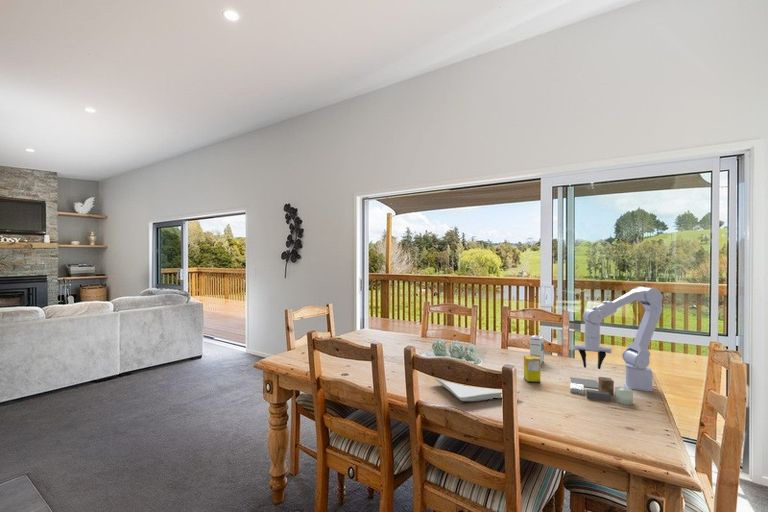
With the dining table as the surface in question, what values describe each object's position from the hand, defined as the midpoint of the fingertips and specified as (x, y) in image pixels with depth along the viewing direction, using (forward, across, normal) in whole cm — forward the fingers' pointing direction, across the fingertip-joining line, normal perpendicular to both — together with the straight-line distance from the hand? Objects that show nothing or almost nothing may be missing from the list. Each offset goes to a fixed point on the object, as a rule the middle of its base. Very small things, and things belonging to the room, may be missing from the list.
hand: (591, 367), depth 164 cm
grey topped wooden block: (+9, +6, +8) cm, 13 cm away
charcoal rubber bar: (+9, 0, +14) cm, 17 cm away
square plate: (+9, +48, +23) cm, 54 cm away
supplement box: (+9, +24, +1) cm, 26 cm away
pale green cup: (+8, -9, +14) cm, 19 cm away
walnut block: (+8, -4, +6) cm, 11 cm away
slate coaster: (+8, +2, -3) cm, 9 cm away
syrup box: (+9, +22, -29) cm, 37 cm away
